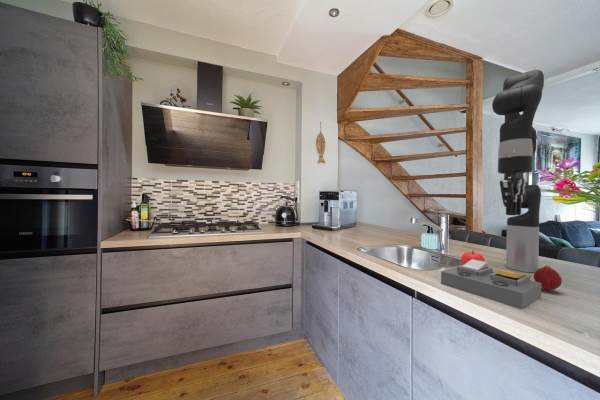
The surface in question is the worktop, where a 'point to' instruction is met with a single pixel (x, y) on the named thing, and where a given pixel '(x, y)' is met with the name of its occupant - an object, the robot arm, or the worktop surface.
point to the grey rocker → (475, 265)
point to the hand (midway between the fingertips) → (513, 214)
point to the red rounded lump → (548, 278)
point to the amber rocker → (509, 273)
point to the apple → (471, 257)
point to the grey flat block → (493, 285)
